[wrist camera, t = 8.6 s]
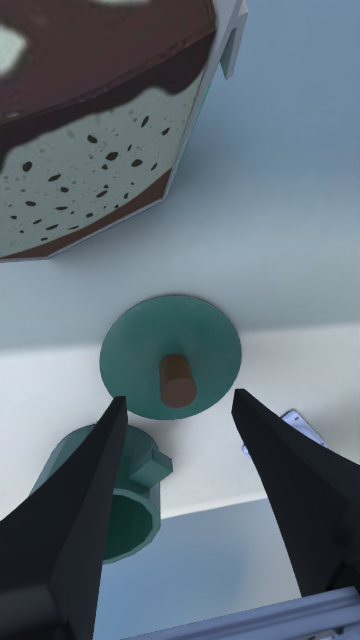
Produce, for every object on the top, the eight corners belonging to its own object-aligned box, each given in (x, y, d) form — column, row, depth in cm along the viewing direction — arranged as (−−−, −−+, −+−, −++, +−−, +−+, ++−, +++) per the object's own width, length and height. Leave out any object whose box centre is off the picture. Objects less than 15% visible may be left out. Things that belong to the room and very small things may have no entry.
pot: (196, 440, 20) (209, 500, 15) (100, 516, 23) (84, 590, 18) (118, 387, 17) (102, 443, 12) (13, 484, 19) (-39, 566, 14)
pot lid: (260, 355, 18) (293, 386, 13) (171, 429, 19) (175, 477, 15) (175, 260, 14) (183, 261, 9) (72, 363, 15) (40, 403, 11)
